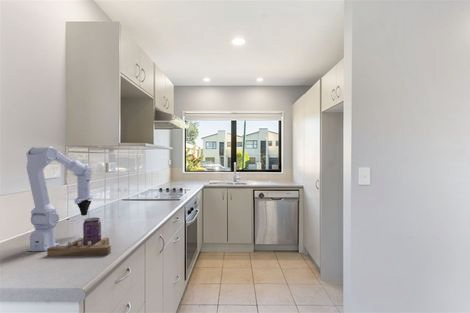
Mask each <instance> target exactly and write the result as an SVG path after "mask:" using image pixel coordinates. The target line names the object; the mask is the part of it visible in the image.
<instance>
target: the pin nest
mask: <svg viewBox="0 0 470 313" xmlns="http://www.w3.org/2000/svg"><path fill="white" fill-rule="evenodd" d="M46 252H47V254H46V255H47V257H63V256H64V257H66V256H67V257H69V256H70V257H71V256H76V257H77V256H108V255H110V254H111V252H112V246H111V245H110V237H103V238H101V240H100V241H99V242H97V243H96V244H94V245H93V246H91V241H89V242H88V246H83V237H79V238H77V239H75V240H74V241H68V242H67V244H66V245H57V246H51V247H49V248H47V251H46Z"/></svg>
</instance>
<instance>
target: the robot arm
mask: <svg viewBox="0 0 470 313" xmlns="http://www.w3.org/2000/svg"><path fill="white" fill-rule="evenodd" d="M26 159H27V162H26V172H27V176H28V181H29V185H30V190H31V194H32V199H33V200H32V201H33V205H34V207H33V209H32V210H31V211H30V213H31V214H30V215H31V216H30V222H31V224H32V225H33V228H35V229H34V231H32V232H31V233H30V235H29V248H28V249H27V252H43V251H44V252H47V248H49V247H51V246H60V243H59V242H56V226H57V225H58V223H59V221H60V215H59V214H58V212H57V209H56V208H55V207H54V206H53V205H52V204H51V203H50V202H51V201H50V198H49V193H48V188H47V183H46V179H45V177H46V176H45V173H44V169H45V168H46V167H47V166H48V165H50V164H51V163H52V162H54V161H55V162H57V163H59V164H61V165H64V166H65V168H66V170H68V171H69V172H72V173H73V174H74V176H75V177H76V178H77V179H76V181H77V197H76V198H75V199H74V204H76V206H77V208H79V211H80V215H81V216H88V211H89V208H90V205H91V204H92V200H93V199H94V198H93V195H91V179H92V175H93V173H94V172H93V170H92V169H93V168H92V167H91V166H90V165H85V163H83V162H80V161H78V159H77V158H71V159H70V158H69V157H68V156H66V155H64V154H63V153H61V152H60V151H59V149H57V148H55V147H54V146H32V147H30V148H29V150H27V151H26Z"/></svg>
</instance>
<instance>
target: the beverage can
mask: <svg viewBox="0 0 470 313" xmlns="http://www.w3.org/2000/svg"><path fill="white" fill-rule="evenodd" d="M82 225H83V226H82V227H83V228H82V230H83V231H82V232H83V233H82V234H83V237H82V238H83V246H88V242H89V241H91V246H93V245H94V244H96V243H97V242H99V241H100V240H102V221H101V219H100V217H87V218H85V219H84V221H83V223H82Z"/></svg>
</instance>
